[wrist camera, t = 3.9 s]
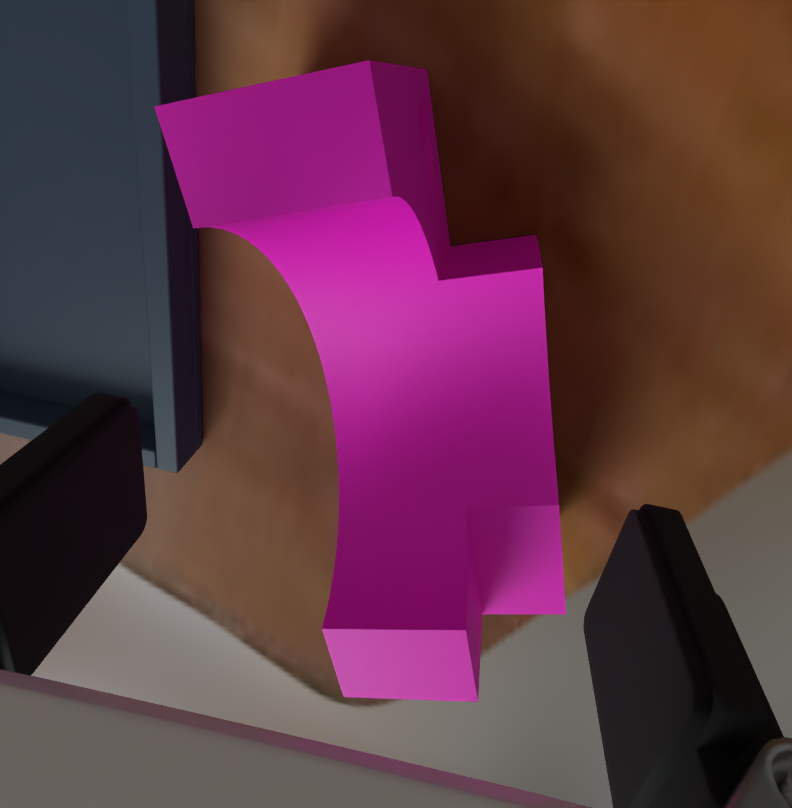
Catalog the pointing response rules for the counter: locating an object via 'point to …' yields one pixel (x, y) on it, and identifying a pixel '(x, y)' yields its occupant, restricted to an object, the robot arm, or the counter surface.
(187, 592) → the counter surface
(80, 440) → the robot arm
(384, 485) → the toy block
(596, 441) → the counter surface
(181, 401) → the rectangular tray
